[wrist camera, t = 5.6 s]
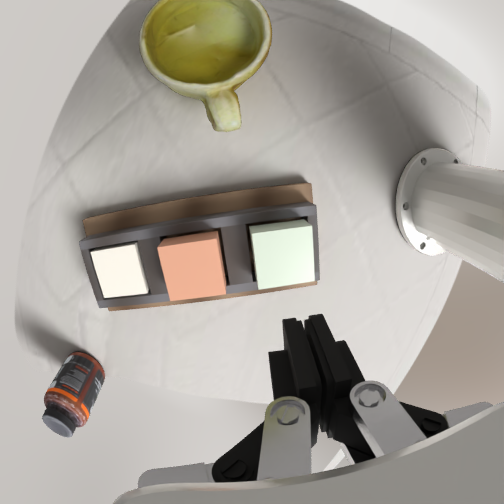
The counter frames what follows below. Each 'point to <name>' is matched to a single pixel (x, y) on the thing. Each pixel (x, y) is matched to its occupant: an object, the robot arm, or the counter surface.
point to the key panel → (194, 222)
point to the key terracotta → (193, 266)
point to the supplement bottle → (73, 394)
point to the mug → (207, 51)
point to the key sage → (283, 253)
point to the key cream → (120, 269)
